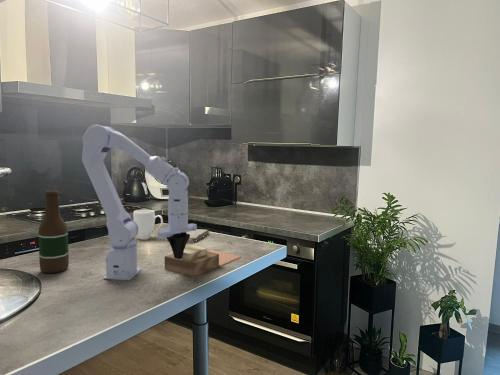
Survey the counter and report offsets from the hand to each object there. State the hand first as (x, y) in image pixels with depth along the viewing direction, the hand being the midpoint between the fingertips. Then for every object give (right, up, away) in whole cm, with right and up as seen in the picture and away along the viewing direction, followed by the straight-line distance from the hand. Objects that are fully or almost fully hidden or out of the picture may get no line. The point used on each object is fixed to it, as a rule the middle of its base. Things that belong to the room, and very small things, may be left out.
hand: (178, 257), depth 109 cm
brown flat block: (+3, -4, +6) cm, 8 cm away
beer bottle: (-38, -4, +2) cm, 38 cm away
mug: (-20, 0, +40) cm, 45 cm away
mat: (+10, -3, +16) cm, 19 cm away
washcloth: (-4, -1, +44) cm, 44 cm away
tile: (+3, 0, +5) cm, 6 cm away
